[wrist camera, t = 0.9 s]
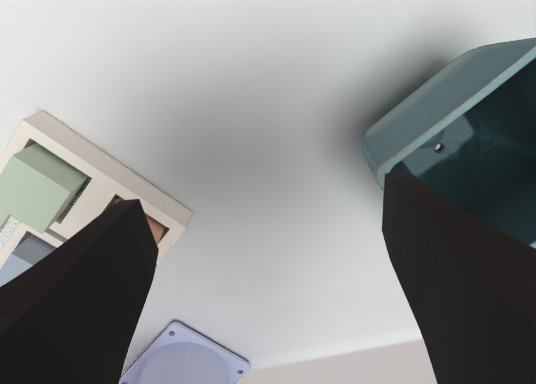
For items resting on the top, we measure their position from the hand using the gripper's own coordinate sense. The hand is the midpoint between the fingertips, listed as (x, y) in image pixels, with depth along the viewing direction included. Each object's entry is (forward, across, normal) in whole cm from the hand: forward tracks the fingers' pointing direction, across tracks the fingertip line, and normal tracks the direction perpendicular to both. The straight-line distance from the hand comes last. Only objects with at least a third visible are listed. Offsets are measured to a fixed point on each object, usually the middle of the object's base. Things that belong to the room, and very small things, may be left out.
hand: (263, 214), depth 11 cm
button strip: (+12, +12, +6) cm, 18 cm away
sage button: (+11, +14, +4) cm, 18 cm away
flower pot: (+14, -10, +5) cm, 18 cm away
